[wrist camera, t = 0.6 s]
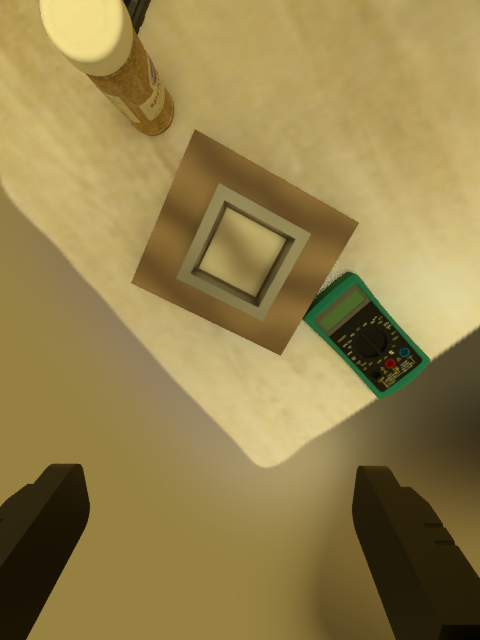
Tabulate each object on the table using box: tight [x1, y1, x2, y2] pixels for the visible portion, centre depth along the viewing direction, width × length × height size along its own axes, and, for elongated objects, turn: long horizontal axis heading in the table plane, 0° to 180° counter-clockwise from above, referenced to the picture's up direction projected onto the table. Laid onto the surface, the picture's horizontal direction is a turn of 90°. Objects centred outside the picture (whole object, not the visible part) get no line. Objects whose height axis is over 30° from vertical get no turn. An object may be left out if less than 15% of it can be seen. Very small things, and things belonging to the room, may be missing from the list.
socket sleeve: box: [176, 183, 311, 321], centre depth 29 cm, size 9×9×4 cm
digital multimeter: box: [303, 272, 430, 399], centre depth 34 cm, size 7×15×3 cm, turn 44°
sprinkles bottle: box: [40, 0, 174, 135], centre depth 22 cm, size 5×5×14 cm
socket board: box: [131, 130, 359, 355], centre depth 32 cm, size 16×18×2 cm
